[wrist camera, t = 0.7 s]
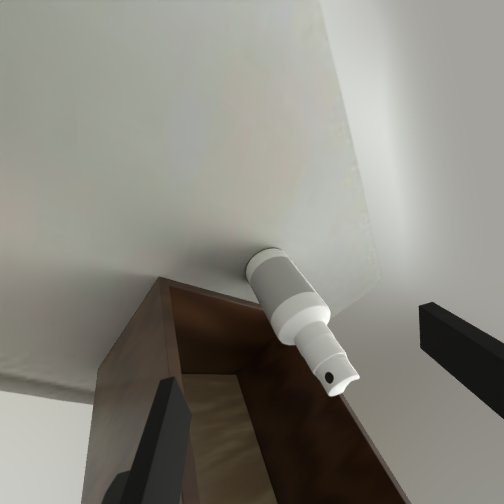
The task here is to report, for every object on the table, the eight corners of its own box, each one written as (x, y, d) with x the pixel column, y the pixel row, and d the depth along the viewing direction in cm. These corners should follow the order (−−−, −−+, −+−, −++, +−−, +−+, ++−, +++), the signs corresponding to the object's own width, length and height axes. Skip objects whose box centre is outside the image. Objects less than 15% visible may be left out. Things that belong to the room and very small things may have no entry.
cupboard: (158, 276, 30) (229, 938, 7) (292, 313, 46) (442, 552, 23) (97, 369, 35) (30, 897, 13) (234, 373, 51) (311, 611, 29)
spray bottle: (263, 240, 32) (351, 362, 19) (295, 255, 36) (386, 364, 23) (235, 277, 34) (298, 409, 21) (269, 287, 39) (338, 403, 25)
